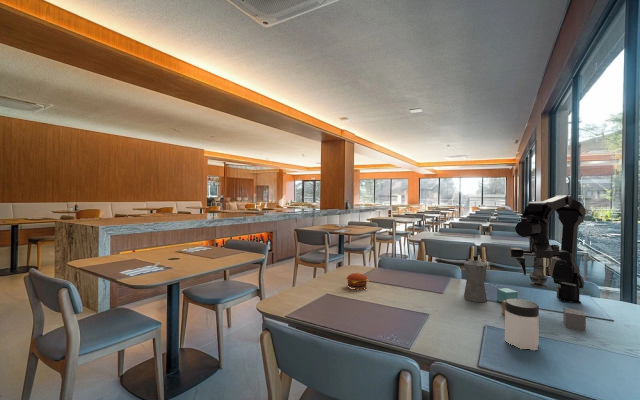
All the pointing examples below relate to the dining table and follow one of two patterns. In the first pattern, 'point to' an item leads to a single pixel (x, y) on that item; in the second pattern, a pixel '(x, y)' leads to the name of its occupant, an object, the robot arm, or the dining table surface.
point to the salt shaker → (538, 274)
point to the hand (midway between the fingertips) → (538, 276)
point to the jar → (522, 323)
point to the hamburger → (357, 281)
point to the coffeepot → (475, 280)
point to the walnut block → (503, 307)
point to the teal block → (506, 294)
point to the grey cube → (574, 319)
